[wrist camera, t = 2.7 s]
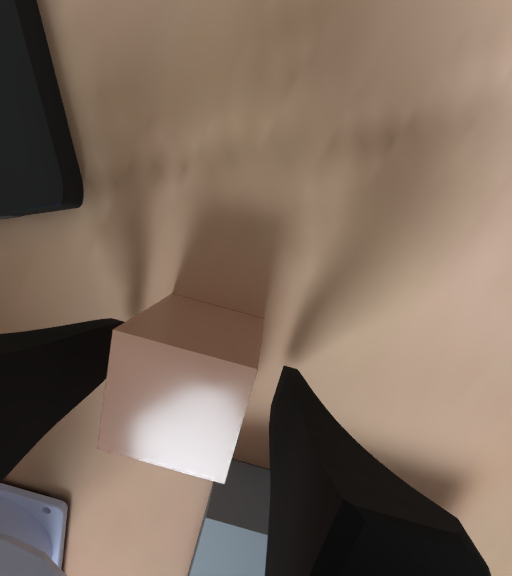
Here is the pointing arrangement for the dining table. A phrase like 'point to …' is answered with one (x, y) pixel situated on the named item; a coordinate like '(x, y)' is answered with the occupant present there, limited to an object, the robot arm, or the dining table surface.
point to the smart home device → (32, 121)
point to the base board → (235, 525)
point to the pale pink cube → (180, 385)
